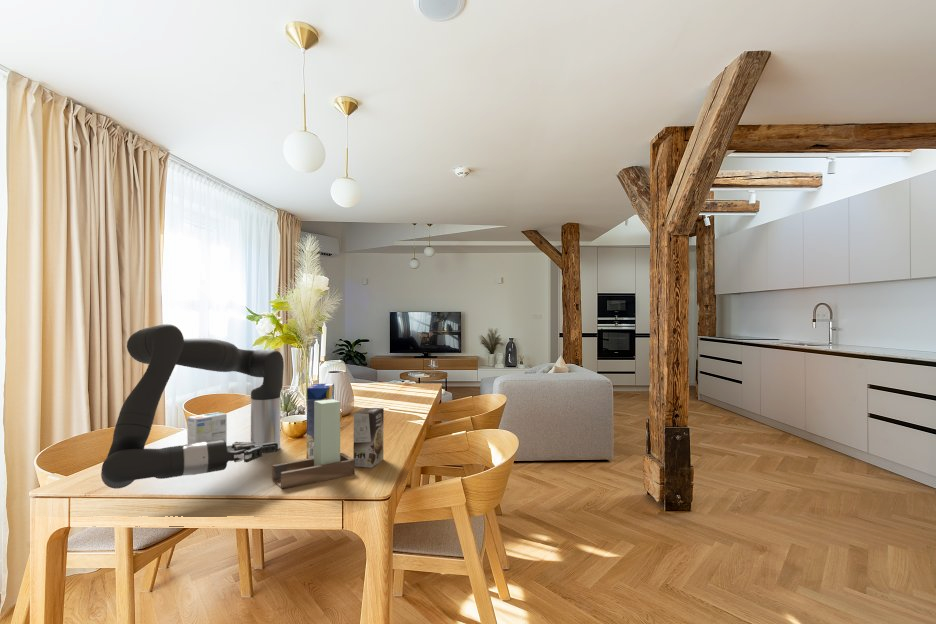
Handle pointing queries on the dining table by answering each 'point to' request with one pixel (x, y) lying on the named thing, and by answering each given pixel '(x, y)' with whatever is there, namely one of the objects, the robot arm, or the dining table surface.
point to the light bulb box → (207, 427)
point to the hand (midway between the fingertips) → (276, 446)
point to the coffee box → (368, 437)
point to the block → (326, 432)
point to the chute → (310, 471)
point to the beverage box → (313, 394)
